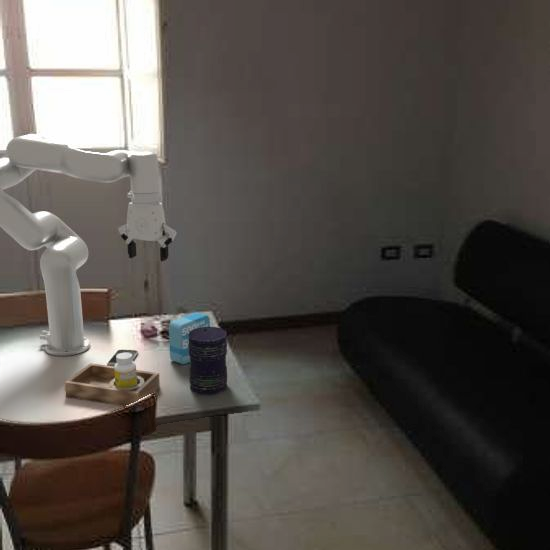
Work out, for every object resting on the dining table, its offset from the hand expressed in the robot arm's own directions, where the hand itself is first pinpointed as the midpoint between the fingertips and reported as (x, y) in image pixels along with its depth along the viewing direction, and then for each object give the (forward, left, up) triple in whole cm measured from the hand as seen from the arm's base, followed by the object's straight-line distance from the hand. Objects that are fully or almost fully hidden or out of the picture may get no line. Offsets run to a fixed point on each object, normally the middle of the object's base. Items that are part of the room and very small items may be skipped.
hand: (148, 258), depth 185 cm
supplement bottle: (+6, -26, -28) cm, 38 cm away
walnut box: (+2, -26, -28) cm, 38 cm away
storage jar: (+24, -16, -28) cm, 41 cm away
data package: (+12, 0, -29) cm, 31 cm away
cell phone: (-5, -8, -29) cm, 30 cm away
